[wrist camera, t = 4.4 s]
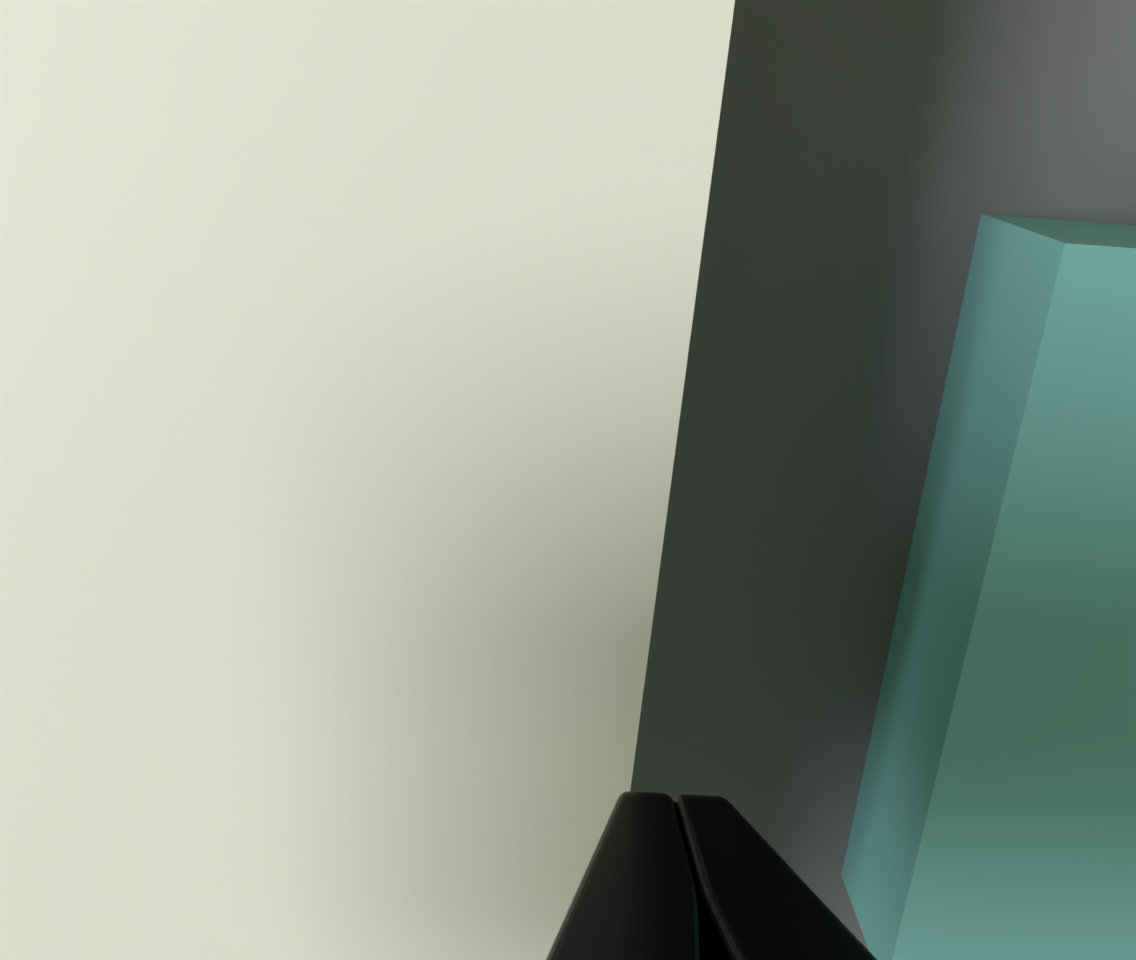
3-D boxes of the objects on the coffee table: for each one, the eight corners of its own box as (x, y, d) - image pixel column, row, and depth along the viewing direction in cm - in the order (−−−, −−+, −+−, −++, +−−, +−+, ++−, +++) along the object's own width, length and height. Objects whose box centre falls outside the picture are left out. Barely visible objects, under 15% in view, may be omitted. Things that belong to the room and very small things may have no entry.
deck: (544, 1134, 17) (544, 1435, 13) (-239, 1100, 16) (-469, 1407, 13) (719, -418, 10) (829, -713, 6) (-674, -586, 9) (-1509, -1027, 5)
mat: (1202, 1118, 17) (1212, 1135, 17) (581, 1090, 17) (581, 1107, 16) (1748, -171, 11) (1782, -177, 10) (758, -282, 10) (763, -292, 10)
